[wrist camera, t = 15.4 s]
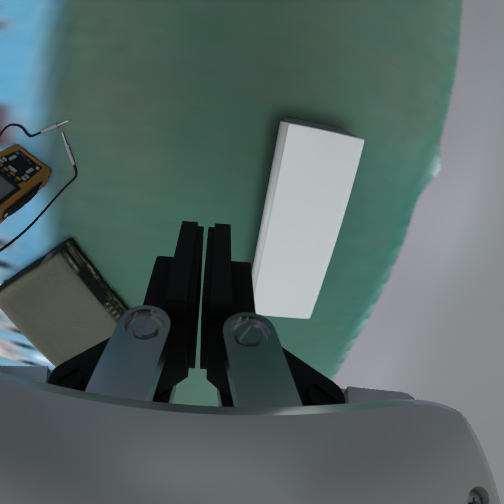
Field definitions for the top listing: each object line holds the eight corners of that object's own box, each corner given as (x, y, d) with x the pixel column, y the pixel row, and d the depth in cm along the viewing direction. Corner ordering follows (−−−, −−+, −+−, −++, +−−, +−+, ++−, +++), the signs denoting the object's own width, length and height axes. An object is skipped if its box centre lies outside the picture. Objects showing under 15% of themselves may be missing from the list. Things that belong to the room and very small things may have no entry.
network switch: (162, 327, 50) (158, 350, 46) (81, 365, 55) (75, 384, 51) (62, 220, 39) (47, 238, 35) (-2, 287, 44) (-15, 304, 40)
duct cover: (279, 120, 30) (280, 122, 29) (361, 138, 31) (364, 140, 30) (244, 308, 42) (244, 313, 41) (308, 313, 43) (309, 318, 42)
